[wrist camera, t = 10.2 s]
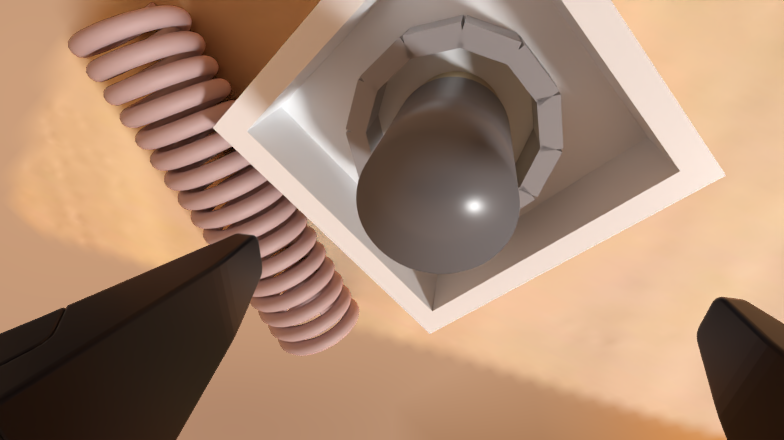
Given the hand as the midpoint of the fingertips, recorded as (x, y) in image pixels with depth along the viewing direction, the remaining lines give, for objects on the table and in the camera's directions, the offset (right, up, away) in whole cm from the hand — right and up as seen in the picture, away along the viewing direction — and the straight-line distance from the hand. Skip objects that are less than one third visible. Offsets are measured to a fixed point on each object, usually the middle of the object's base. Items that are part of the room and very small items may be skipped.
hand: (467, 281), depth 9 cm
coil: (-8, +3, +14) cm, 17 cm away
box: (+1, +6, +10) cm, 12 cm away
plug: (+1, +5, +10) cm, 11 cm away
